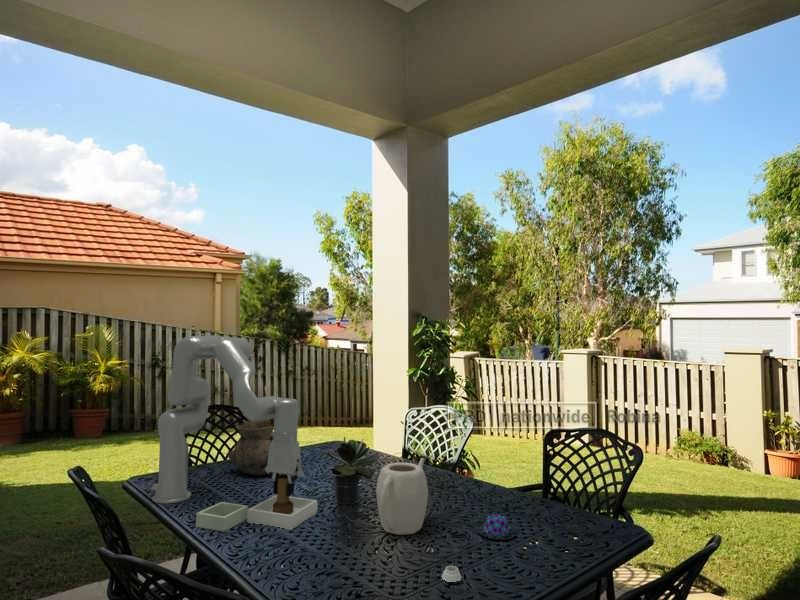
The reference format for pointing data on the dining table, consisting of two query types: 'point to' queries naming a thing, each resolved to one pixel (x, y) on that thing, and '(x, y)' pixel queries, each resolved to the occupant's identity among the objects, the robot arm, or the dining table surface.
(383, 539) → the dining table surface
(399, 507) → the watering can
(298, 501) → the tray
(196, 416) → the robot arm
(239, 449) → the clay pot
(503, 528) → the purple patterned dome
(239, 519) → the box
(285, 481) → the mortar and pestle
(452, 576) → the white jar
